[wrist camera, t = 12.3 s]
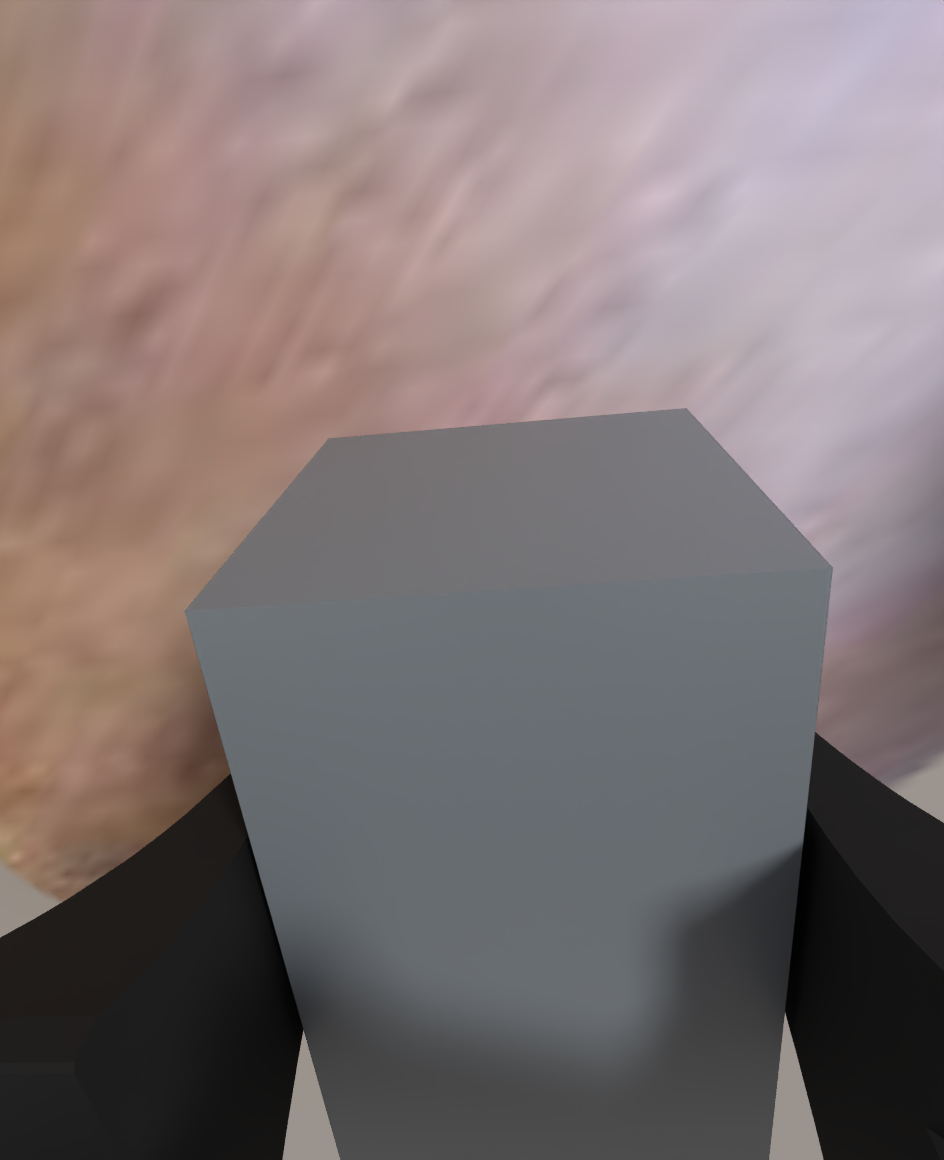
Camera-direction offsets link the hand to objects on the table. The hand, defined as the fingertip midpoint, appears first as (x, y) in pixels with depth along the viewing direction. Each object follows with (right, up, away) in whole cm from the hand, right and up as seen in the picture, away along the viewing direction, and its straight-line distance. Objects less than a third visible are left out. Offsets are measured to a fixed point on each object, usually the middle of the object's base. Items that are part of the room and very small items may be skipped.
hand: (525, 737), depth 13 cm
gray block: (0, +1, +2) cm, 2 cm away
